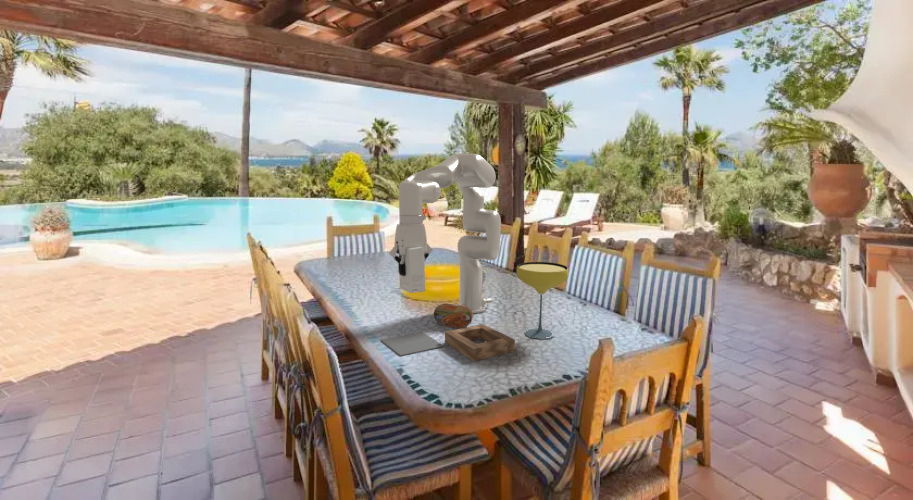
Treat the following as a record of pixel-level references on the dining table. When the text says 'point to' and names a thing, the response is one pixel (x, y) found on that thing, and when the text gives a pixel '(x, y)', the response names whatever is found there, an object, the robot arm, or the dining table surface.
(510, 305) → the dining table surface
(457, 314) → the tin
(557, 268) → the cocktail glass
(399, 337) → the mat
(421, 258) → the skincare box
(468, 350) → the frame
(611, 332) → the dining table surface
